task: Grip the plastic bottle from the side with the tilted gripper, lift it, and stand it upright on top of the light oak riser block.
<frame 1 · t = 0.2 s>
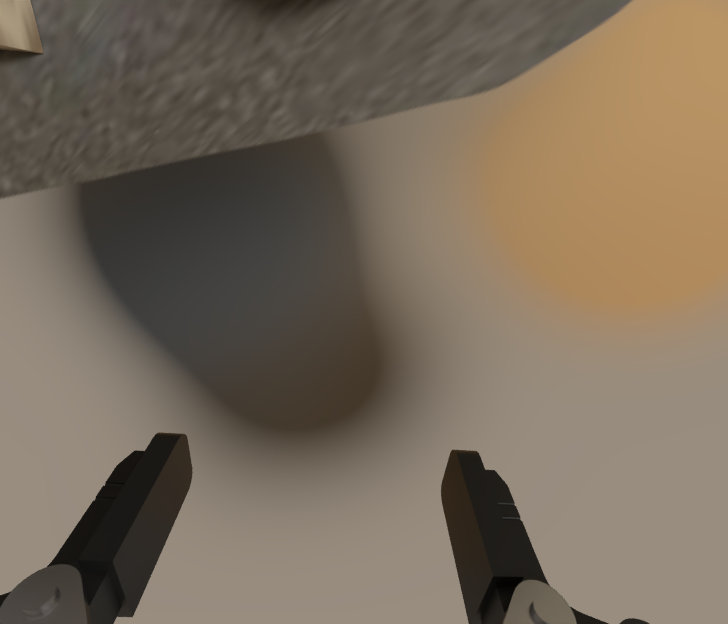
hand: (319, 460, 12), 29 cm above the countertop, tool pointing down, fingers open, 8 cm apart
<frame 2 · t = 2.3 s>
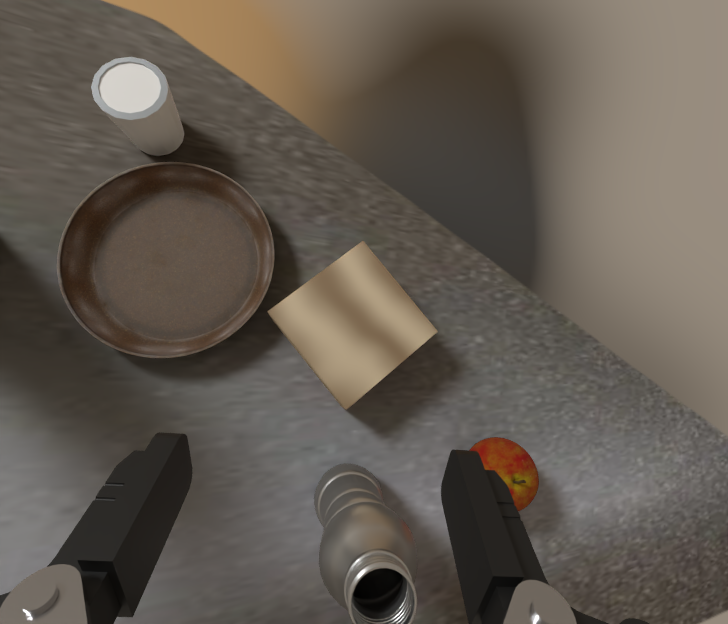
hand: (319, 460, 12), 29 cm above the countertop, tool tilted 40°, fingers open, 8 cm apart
fruit: (483, 465, 42), on the countertop
white cup: (158, 134, 43), on the countertop
plant saucer: (180, 264, 41), on the countertop
oak riser: (349, 328, 42), on the countertop
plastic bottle: (346, 491, 39), on the countertop
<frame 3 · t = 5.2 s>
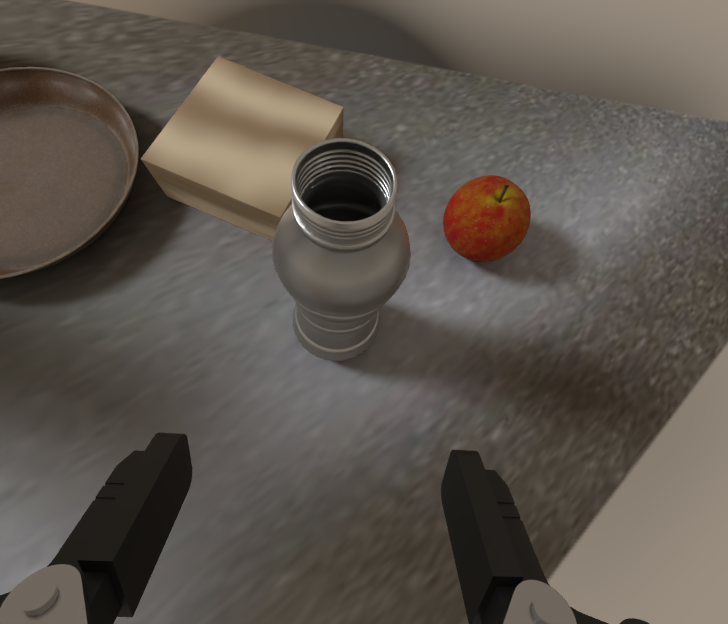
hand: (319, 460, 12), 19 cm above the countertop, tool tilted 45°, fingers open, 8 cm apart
fruit: (469, 240, 36), on the countertop
plant saucer: (35, 187, 34), on the countertop
oak riser: (258, 171, 36), on the countertop
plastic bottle: (336, 328, 32), on the countertop
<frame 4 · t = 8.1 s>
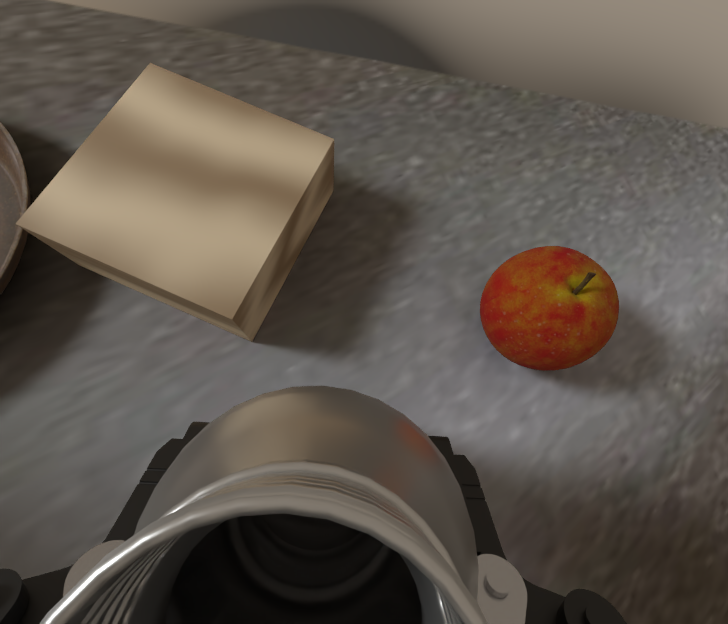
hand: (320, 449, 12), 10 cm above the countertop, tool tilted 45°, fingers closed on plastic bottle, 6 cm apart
fruit: (514, 325, 25), on the countertop
oak riser: (213, 225, 25), on the countertop
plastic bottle: (322, 470, 22), on the countertop, touching gripper
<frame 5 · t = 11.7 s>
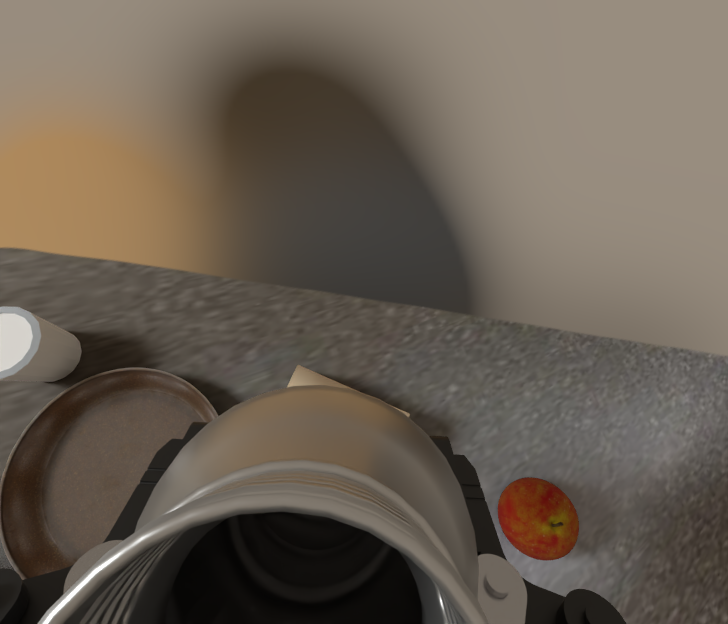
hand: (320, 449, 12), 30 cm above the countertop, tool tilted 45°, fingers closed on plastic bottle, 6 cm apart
fruit: (518, 509, 40), on the countertop
white cup: (55, 356, 41), on the countertop
plant saucer: (135, 474, 38), on the countertop
oak riser: (328, 446, 40), on the countertop
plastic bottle: (322, 469, 22), point 19 cm above the countertop, touching gripper
when the fingers open (17 cm above the countertop, at t = 15.5 s): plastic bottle drops 1 cm, resting on oak riser.
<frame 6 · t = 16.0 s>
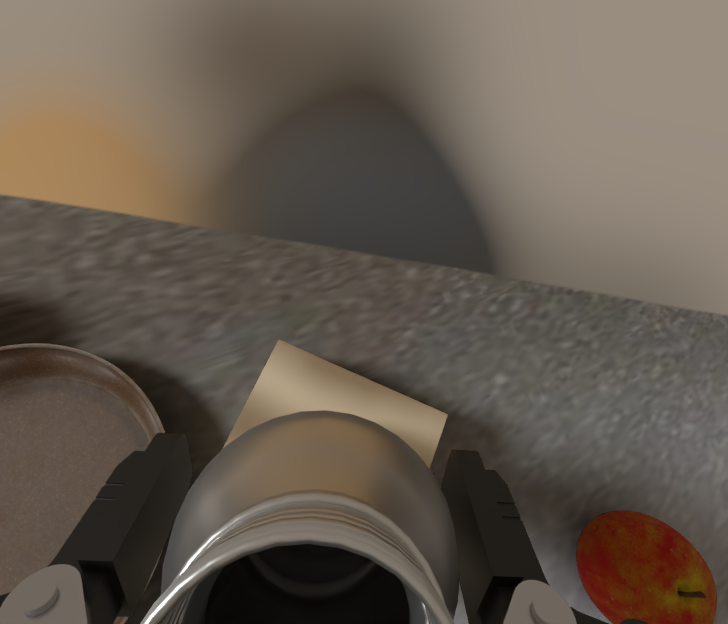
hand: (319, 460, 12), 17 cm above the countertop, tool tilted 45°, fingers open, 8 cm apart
fruit: (600, 554, 28), on the countertop
plant saucer: (34, 502, 26), on the countertop
oak riser: (324, 461, 28), on the countertop
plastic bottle: (321, 471, 23), point 5 cm above the countertop, touching oak riser
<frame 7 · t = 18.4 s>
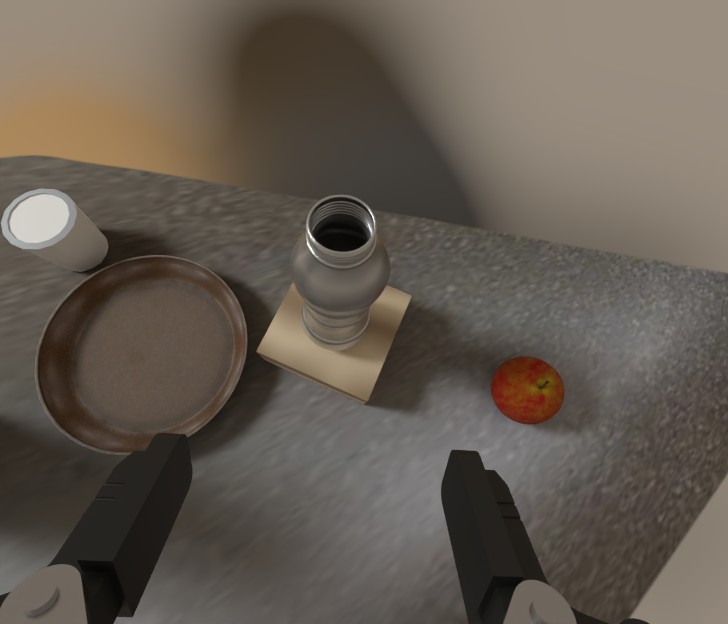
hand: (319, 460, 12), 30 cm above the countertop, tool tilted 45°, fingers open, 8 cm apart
fruit: (510, 392, 44), on the countertop
white cup: (83, 250, 44), on the countertop
plant saucer: (158, 353, 42), on the countertop
oak riser: (336, 334, 44), on the countertop
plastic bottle: (336, 324, 39), point 5 cm above the countertop, touching oak riser
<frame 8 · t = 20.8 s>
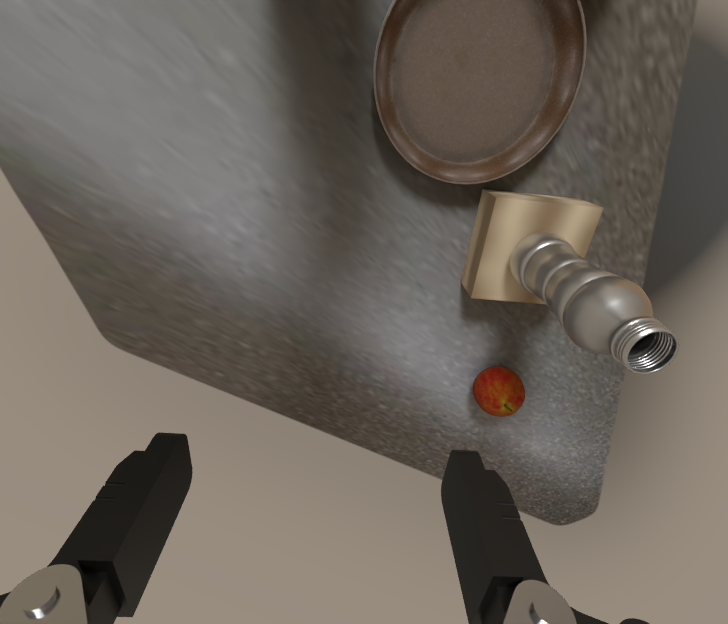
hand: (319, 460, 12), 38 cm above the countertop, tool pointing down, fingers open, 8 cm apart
fruit: (490, 375, 58), on the countertop
plant saucer: (469, 77, 40), on the countertop
oak riser: (517, 242, 48), on the countertop
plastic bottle: (531, 254, 44), point 5 cm above the countertop, touching oak riser
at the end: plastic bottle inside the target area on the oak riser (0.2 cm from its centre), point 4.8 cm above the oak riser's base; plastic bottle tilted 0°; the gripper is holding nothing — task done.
